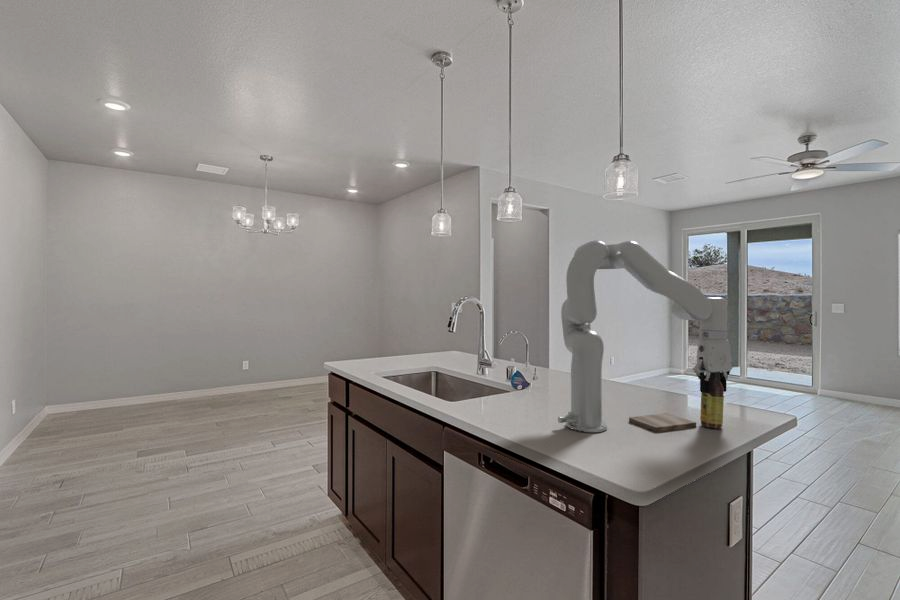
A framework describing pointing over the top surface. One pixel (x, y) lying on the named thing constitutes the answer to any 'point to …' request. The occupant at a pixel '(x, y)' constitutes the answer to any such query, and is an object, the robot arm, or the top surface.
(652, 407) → the top surface
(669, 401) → the top surface
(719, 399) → the sauce bottle
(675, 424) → the walnut board
